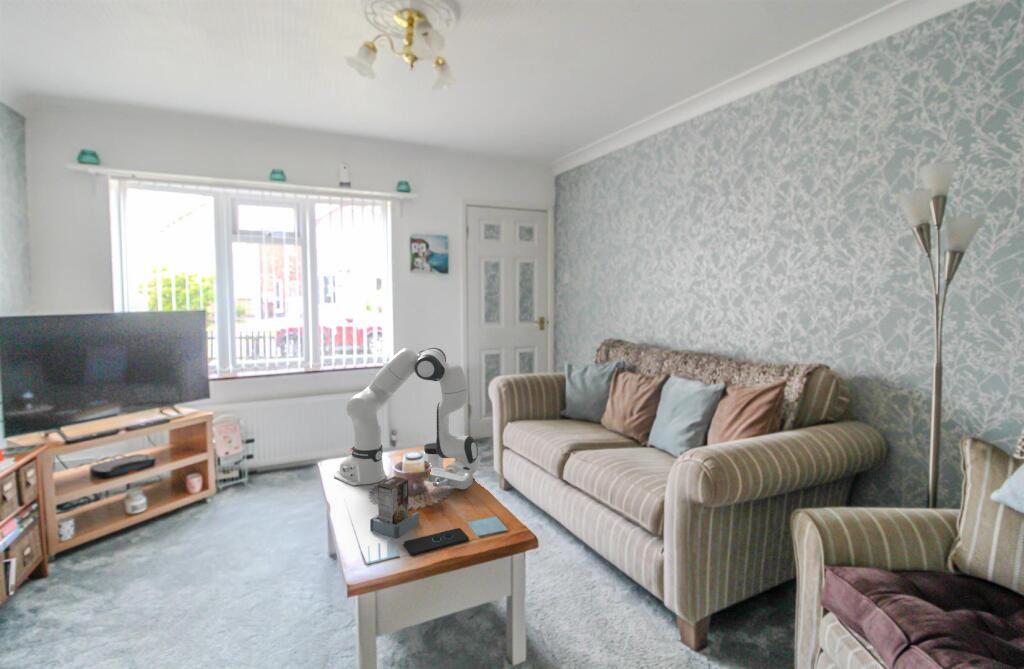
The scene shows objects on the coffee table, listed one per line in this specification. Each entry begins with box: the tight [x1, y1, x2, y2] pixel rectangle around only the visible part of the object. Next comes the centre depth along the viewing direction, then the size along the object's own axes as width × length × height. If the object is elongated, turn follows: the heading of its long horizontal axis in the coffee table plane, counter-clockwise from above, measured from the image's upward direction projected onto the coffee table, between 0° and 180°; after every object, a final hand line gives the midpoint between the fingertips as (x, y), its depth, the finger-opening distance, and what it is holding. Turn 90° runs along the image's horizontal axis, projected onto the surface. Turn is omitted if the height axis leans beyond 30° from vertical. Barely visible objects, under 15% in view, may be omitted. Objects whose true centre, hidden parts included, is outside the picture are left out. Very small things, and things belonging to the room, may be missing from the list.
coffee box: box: [377, 476, 409, 525], centre depth 169 cm, size 9×6×16 cm
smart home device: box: [403, 527, 470, 557], centre depth 159 cm, size 8×2×20 cm
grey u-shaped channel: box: [369, 511, 420, 540], centre depth 169 cm, size 11×12×4 cm
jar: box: [422, 442, 444, 469], centre depth 220 cm, size 9×8×12 cm
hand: (435, 485), depth 191 cm, fingers closed
